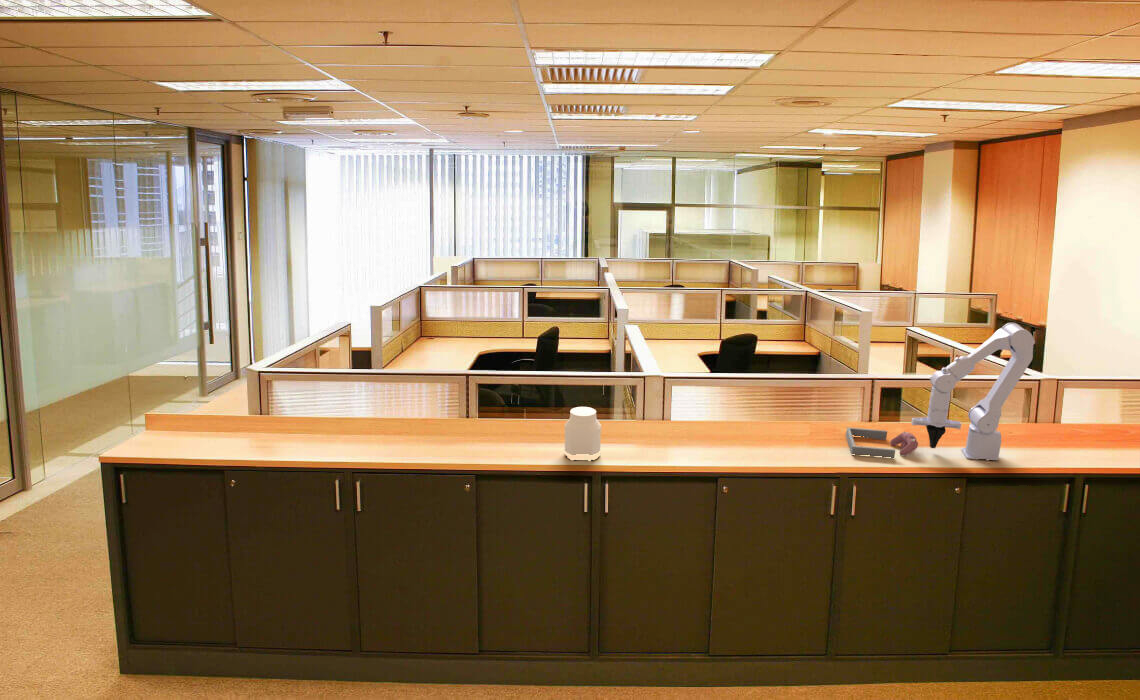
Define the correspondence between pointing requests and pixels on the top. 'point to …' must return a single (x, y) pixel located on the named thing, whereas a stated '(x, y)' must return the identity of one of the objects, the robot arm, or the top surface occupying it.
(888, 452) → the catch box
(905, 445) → the video game controller
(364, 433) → the top surface
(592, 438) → the jar
